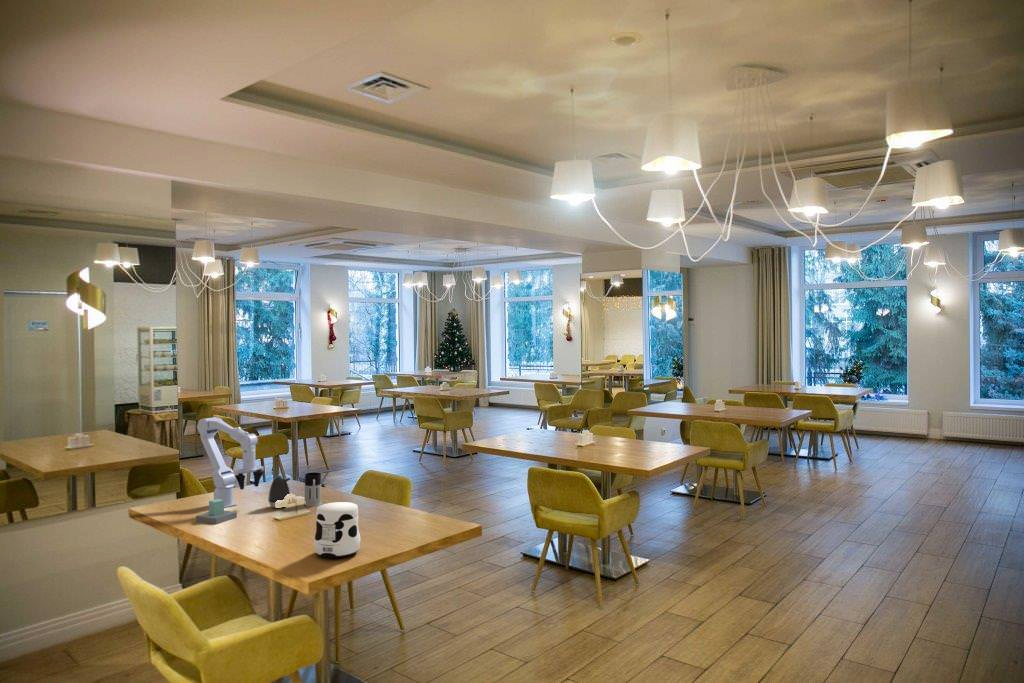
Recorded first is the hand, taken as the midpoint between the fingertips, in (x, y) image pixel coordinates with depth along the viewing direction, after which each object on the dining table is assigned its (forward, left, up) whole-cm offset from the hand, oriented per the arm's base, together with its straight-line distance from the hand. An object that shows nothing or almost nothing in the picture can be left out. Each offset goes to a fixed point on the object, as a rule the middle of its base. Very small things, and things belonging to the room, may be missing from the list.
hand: (249, 487), depth 329 cm
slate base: (+6, -20, -10) cm, 23 cm away
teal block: (+6, -20, -7) cm, 22 cm away
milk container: (+88, -18, -10) cm, 90 cm away
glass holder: (+20, +22, -10) cm, 31 cm away
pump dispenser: (+10, +10, -10) cm, 17 cm away
